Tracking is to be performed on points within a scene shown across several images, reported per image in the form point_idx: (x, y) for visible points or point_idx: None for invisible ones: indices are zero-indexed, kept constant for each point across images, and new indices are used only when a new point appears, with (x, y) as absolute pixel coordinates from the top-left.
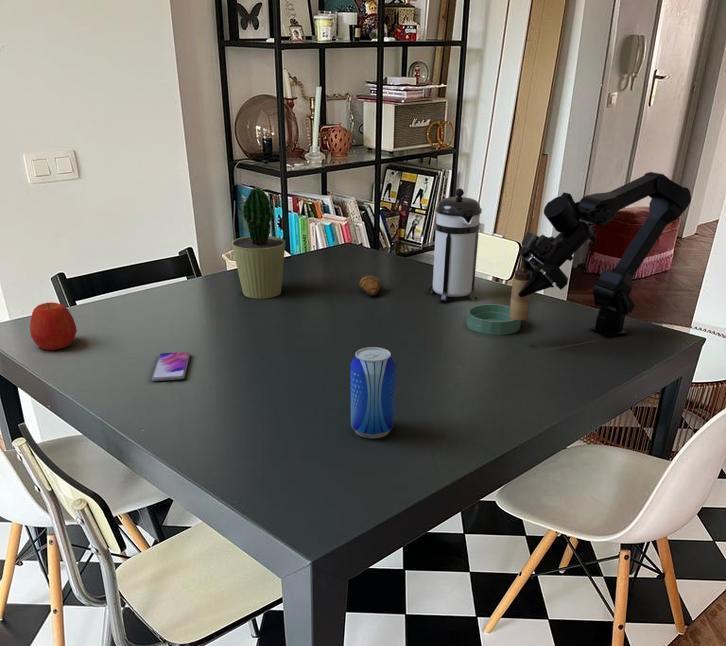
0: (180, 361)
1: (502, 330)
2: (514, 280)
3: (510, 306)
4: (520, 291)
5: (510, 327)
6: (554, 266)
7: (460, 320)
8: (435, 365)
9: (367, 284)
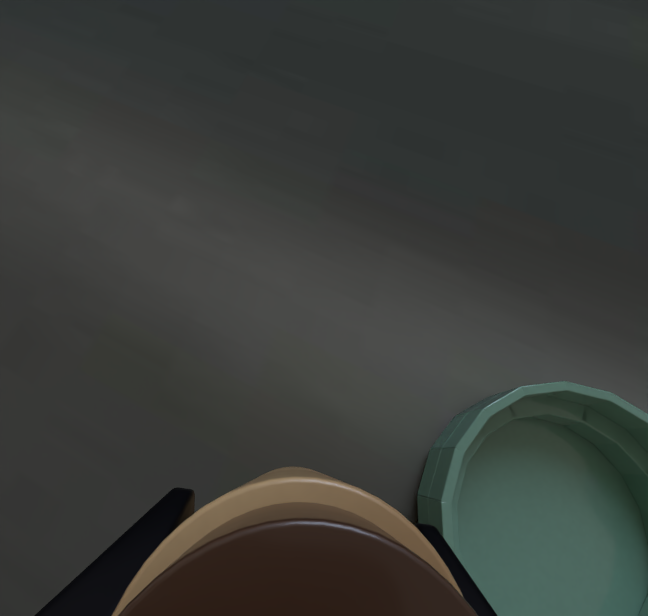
0: None
1: (425, 509)
2: (287, 477)
3: (307, 469)
4: (168, 517)
5: None
6: None
7: None
8: (224, 153)
9: None
